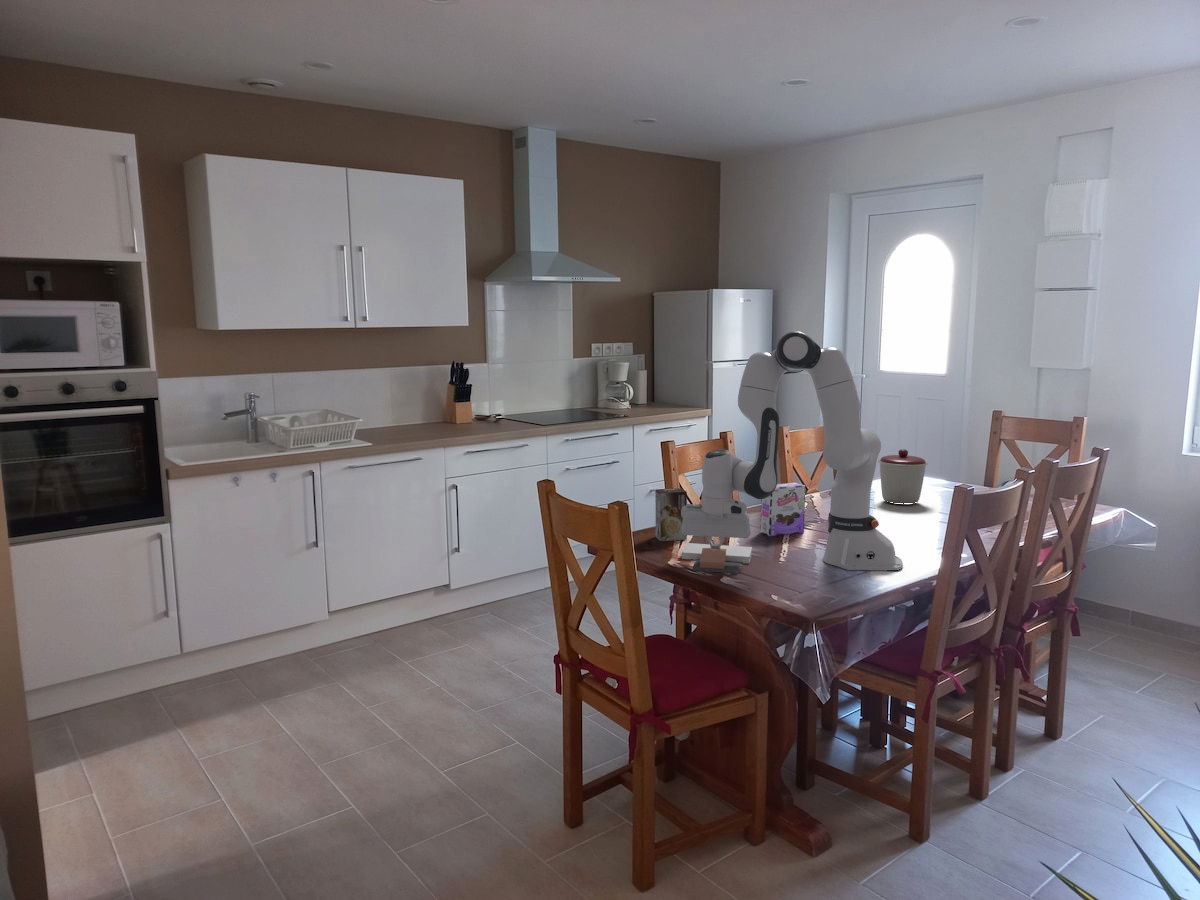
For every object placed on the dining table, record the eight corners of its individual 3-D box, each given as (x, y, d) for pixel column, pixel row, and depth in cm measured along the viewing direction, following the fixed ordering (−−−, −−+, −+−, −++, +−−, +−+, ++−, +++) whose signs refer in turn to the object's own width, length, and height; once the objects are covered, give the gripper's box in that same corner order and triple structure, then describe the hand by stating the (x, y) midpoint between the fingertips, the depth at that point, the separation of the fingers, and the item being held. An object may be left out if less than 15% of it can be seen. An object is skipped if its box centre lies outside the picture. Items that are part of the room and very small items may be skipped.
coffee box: (681, 535, 283) (682, 487, 281) (687, 540, 277) (688, 491, 274) (654, 536, 281) (655, 488, 279) (659, 541, 275) (660, 492, 273)
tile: (726, 555, 252) (726, 548, 251) (724, 568, 244) (724, 562, 243) (702, 553, 254) (702, 547, 253) (699, 567, 245) (699, 561, 245)
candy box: (769, 537, 281) (770, 487, 278) (759, 532, 286) (760, 484, 284) (804, 533, 286) (806, 484, 284) (794, 529, 291) (796, 481, 289)
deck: (751, 553, 261) (752, 547, 261) (749, 563, 251) (749, 556, 250) (686, 549, 266) (687, 543, 266) (681, 558, 255) (681, 552, 255)
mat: (740, 563, 251) (740, 562, 251) (737, 574, 240) (737, 572, 240) (696, 560, 254) (696, 559, 254) (691, 570, 243) (691, 569, 243)
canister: (866, 499, 338) (869, 446, 335) (905, 496, 344) (908, 444, 340) (895, 509, 321) (898, 453, 318) (935, 506, 327) (938, 451, 323)
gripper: (680, 505, 250) (679, 551, 252) (750, 509, 246) (749, 555, 248) (682, 501, 256) (681, 546, 258) (751, 504, 252) (750, 549, 254)
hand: (715, 550), depth 253 cm, fingers closed
